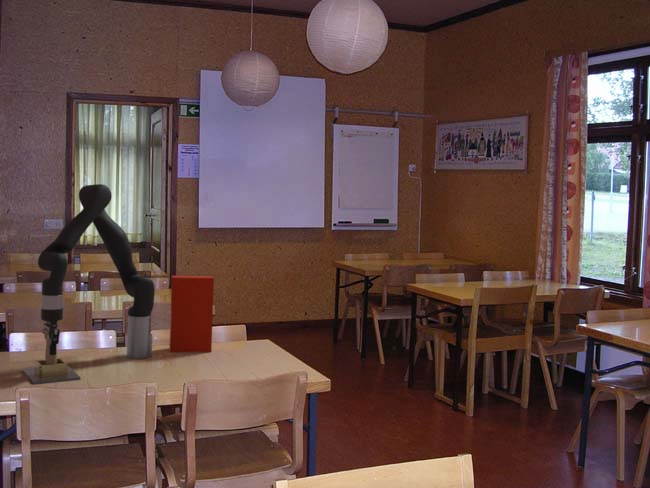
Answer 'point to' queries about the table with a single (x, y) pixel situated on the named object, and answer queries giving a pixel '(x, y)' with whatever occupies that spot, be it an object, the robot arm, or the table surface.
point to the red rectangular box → (191, 313)
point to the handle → (49, 358)
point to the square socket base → (50, 372)
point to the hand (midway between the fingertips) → (51, 353)
